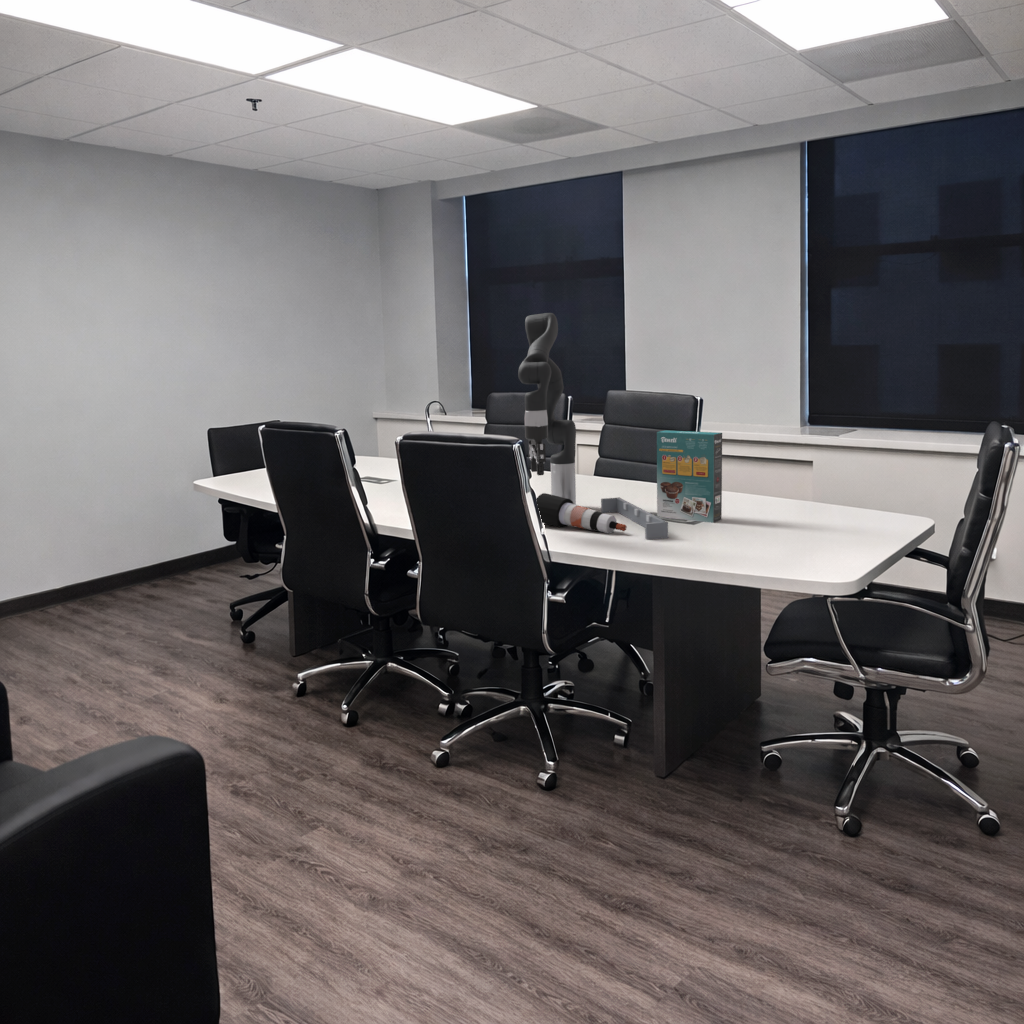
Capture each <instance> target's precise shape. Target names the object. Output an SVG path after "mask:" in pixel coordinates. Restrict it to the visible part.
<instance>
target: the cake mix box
mask: <svg viewBox="0 0 1024 1024" xmlns="http://www.w3.org/2000/svg"><path fill="white" fill-rule="evenodd" d="M722 483H723V432H712V431H710V432H708V431H688V430H686V431H684V430H661V431H657V432H656V517H658V518H668V519H676V520H686V521H692V522H693V521H695V522H702V523H703V522H704V523H716V522H719V521H722V513H723V512H722V507H723V506H722V505H723V503H722V499H723V497H722V496H723V491H722V490H723V486H722V485H723V484H722Z"/></svg>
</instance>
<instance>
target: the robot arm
mask: <svg viewBox="0 0 1024 1024" xmlns="http://www.w3.org/2000/svg"><path fill="white" fill-rule="evenodd" d="M524 325H525V326H524V327H525V334H526V338H527V341H528V344H529V348H528V351H527V356H526V357H525V358H524V359H523V360H522V362H521V363H520V364H519V367H518V374H517V375H518V376H517V377H518V380H519V381H520V382H521V384H524V385H537V389H536V390H533V391H529V392H526V393H525V394H524V410H525V411H524V438H525V439H526V440H528V458H529V460H530V470H531V472H532V473H536V475H537V476H544V475H545V463H547V457H546V454H547V453H546V443H543V440H546V441H547V443H548V444H549V445H557V446H558V445H562V446H563V449H562V450H561V451H559V452H557V453H554V454H552V455H551V456H550V460H549V461H550V488H551V489H550V492H551V493H550V495H555V496H559V497H563V498H567V499H570V500H571V501H573V504H574V505H577V497H576V496H577V490H576V489H577V487H576V446H577V445H576V441H577V427H576V424H575V422H574V420H572V419H556V418H555V410H556V407H557V405H558V403H559V401H560V399H561V397H562V395H563V392H564V388H565V387H564V381H563V375H562V371H561V369H560V368H559V366H558V365H557V364H556V363H555V361H554V360H552V359H551V357H550V351H551V349H552V347H553V345H554V343H555V341H556V339H557V337H558V335H559V333H558V332H559V323H558V319H557V316H556V315H555V313H553V312H544V313H538V314H537V313H536V314H531V315H527V316H526V317H525V321H524Z"/></svg>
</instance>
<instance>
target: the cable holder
mask: <svg viewBox="0 0 1024 1024" xmlns="http://www.w3.org/2000/svg"><path fill="white" fill-rule="evenodd" d="M600 504H601V505H600V507H601V508H600V512H602V513H605V514H608V513H619V514H620V515H622V516H624V517H626V518H628V519H629V520H630V521H633V522H634V523H636V524H638V525H639V526H641V527H643V528H644V531H645V532H644V538H645V539H644V540H657V539H658V540H659V539H668V538H669V522H668V521H666V520H664V519H662V518H661V517H657V515H654V514H653V513H650V512H649V511H646V510H645V509H643V508H641V507H639V506H637V505H635V504H633V503H631V502H630V501H628V500H626V499H623V498H621V497H608V498H607V497H605V498H601V499H600Z"/></svg>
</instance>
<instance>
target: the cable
mask: <svg viewBox="0 0 1024 1024" xmlns="http://www.w3.org/2000/svg"><path fill="white" fill-rule="evenodd" d="M535 500H537V504H538V508H539V511H540V515H541V519H542V524H545V525H549V526H553V527H558V528H566V527H568V526H572V527H576V528H580V529H584V530H586V529H587V530H590V531H595V532H602V533H605V534H611V533H614V531H615V530H617V531H622V532H625V531H626V530H627V525H626V524H624V523H620V522H617V519H616V516H615V515H612V514H608V513H602V512H601V511H598V510H595V509H591V508H590V507H584V506H581V505H578V504H576V505H574V504H573V501H571V500H570V499H567V498H563V497H559V496H555V495H551V493H550V494H549V493H546V492H542V493H540V494H539V495H538V496H537V497H536V499H535Z"/></svg>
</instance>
